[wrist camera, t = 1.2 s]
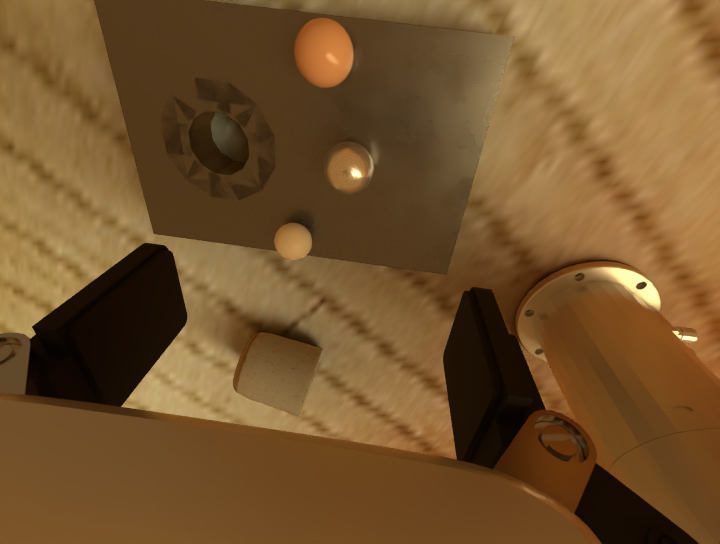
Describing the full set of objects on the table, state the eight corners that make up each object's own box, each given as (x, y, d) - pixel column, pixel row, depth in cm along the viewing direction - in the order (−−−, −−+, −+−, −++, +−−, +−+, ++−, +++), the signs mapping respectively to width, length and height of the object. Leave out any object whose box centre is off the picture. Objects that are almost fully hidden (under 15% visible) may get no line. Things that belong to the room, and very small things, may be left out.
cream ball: (316, 219, 28) (307, 235, 25) (315, 251, 30) (307, 269, 27) (280, 214, 28) (268, 230, 26) (281, 246, 30) (269, 264, 27)
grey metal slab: (500, 38, 23) (514, 36, 20) (442, 254, 32) (446, 274, 30) (129, -5, 24) (91, -13, 21) (175, 217, 33) (153, 233, 30)
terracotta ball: (359, 23, 21) (352, 18, 18) (354, 88, 23) (347, 94, 20) (302, 17, 21) (286, 11, 18) (302, 82, 23) (287, 86, 20)
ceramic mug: (258, 315, 39) (229, 368, 33) (327, 334, 40) (312, 390, 33) (250, 373, 45) (224, 427, 39) (310, 389, 46) (295, 445, 39)
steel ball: (378, 139, 24) (375, 151, 21) (372, 187, 26) (368, 204, 23) (329, 133, 24) (319, 144, 21) (327, 181, 26) (317, 198, 23)
